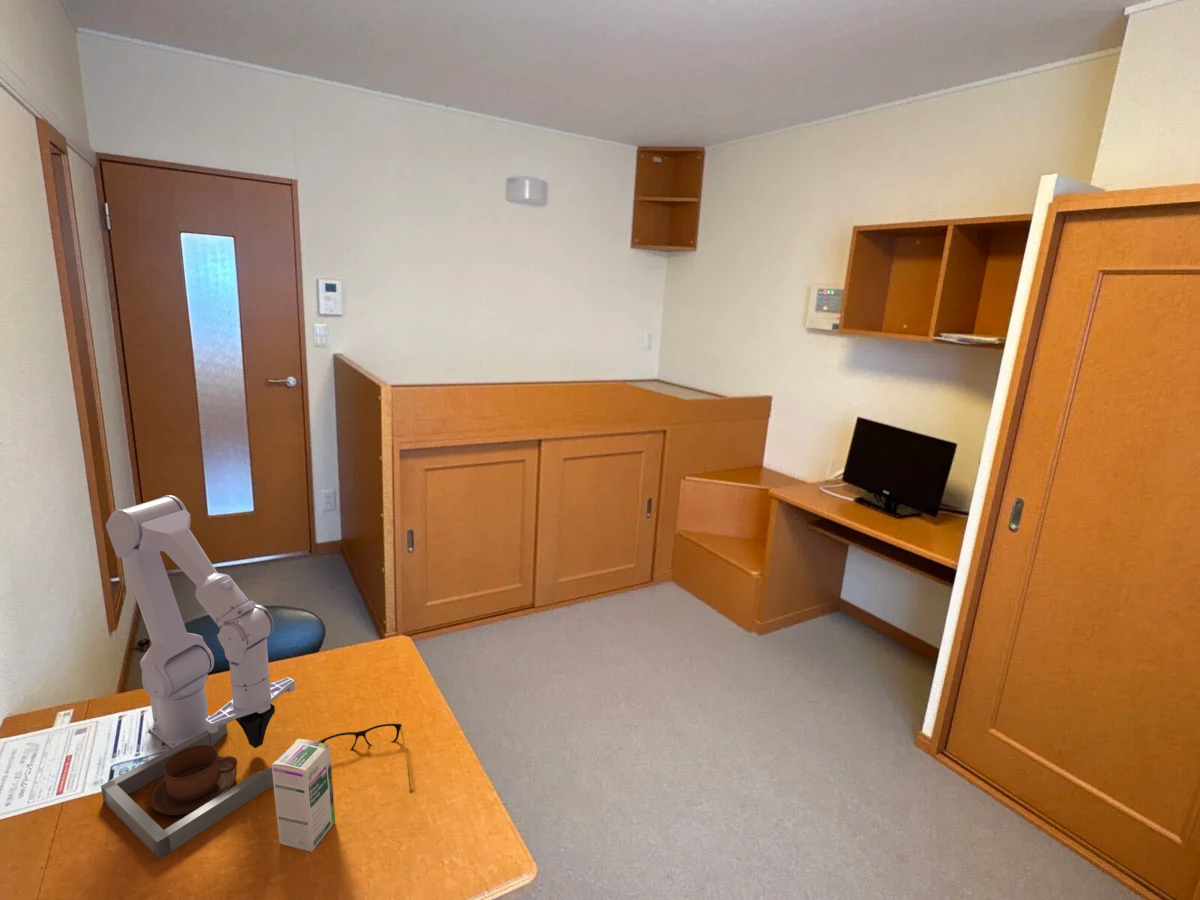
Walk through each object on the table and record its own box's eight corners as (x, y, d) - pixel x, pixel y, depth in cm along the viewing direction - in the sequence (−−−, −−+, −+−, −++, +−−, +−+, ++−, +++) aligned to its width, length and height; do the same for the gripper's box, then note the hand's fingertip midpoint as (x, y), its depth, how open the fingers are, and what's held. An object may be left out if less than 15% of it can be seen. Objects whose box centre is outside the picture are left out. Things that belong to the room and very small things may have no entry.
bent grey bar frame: (99, 797, 98) (96, 781, 98) (224, 729, 115) (222, 716, 114) (164, 864, 88) (162, 847, 87) (292, 779, 104) (290, 765, 104)
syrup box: (312, 853, 91) (307, 771, 88) (277, 844, 92) (270, 763, 89) (336, 822, 97) (331, 743, 93) (302, 814, 98) (297, 736, 94)
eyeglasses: (401, 737, 116) (401, 719, 115) (411, 794, 103) (411, 774, 102) (318, 756, 110) (317, 737, 109) (318, 819, 98) (317, 798, 97)
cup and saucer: (224, 754, 109) (221, 724, 107) (248, 793, 101) (245, 762, 100) (141, 791, 100) (137, 759, 99) (161, 836, 93) (156, 803, 91)
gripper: (219, 707, 98) (226, 779, 101) (303, 665, 110) (307, 730, 113) (195, 691, 101) (203, 760, 105) (280, 651, 113) (284, 715, 117)
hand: (255, 743), depth 109 cm, fingers closed
